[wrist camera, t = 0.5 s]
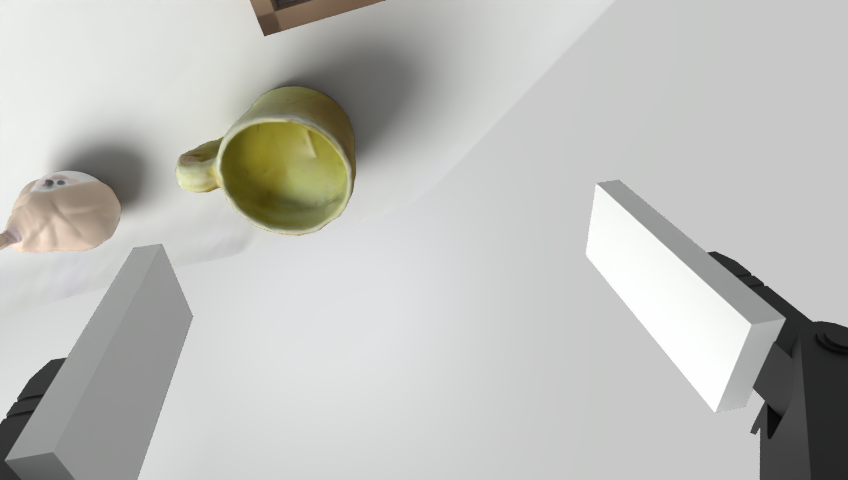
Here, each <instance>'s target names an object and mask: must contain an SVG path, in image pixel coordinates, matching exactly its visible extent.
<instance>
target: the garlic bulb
mask: <svg viewBox="0 0 848 480" xmlns="http://www.w3.org/2000/svg"><path fill="white" fill-rule="evenodd" d="M120 213H121V205H120V203H119V201H118V199H117V197H116V195H115V194H114V192H113V190H112V189H111V188H110V187H109V186H108V185H106V184H104V183H102V182H101V181H99V180H98V179H96V178H95V177H93V176H91V175H88V174H85V173H82V172H77V171H58V172H54V173H51V174H48V175H46V176H44V177H42V178H41V179H38V180H35V181H33V182H31V183H29V184H28V185H26V186H25V187H24V188H23V190H22V191H21V193H20V195H19V197H18V199H17V200H16V202H15V204H14V207H13V210H12V215H11V216H10V218H9V220H8V222H7V225H6V228H5V230H4V231H3V233H2V234H0V250H1V249H3V248H5V247H7V246H10V247H12V248H13V249H15V250H17V251H19V252H24V253H37V252H54V251H86V250H90V249H93V248H96V247H97V246H99V245H100V244H102V243H103V242H104V241H106V240H108V239H109V238H110V237H111V236H112V235H113V234H114V232H115V230H116V228H117V225H118V223H119V221H120Z"/></svg>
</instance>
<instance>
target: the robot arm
mask: <svg viewBox="0 0 848 480" xmlns="http://www.w3.org/2000/svg"><path fill="white" fill-rule="evenodd" d="M586 256H587V257H588V258H589V259H590V261H591V262H592V263H593V264H594V265H595V267H596V268H597V269H598V270H599V271H600V273H601V274H602V275H603V276H604V278H605V279H606V280H607V281H608V283H609V284H610V285H611V286H612V287H613V289H614V290H615V291H616V292H617V294H618V295H619V296H620V297H621V298H622V299H623V301H624V302H625V303H626V305H627V306H628V307H629V308H630V309H631V311H632V312H633V313H634V314H635V316H636V317H637V318H638V319H639V320H640V322H641V323H642V324H643V325H644V327H645V328H646V329H647V330H648V331H649V333H650V334H651V335H652V336H653V338H654V339H655V340H656V341H657V342H658V343H659V345H660V346H661V347H662V348H663V350H664V351H665V352H666V353H667V355H668V356H669V357H670V358H671V359H672V361H673V362H674V363H675V364H676V366H677V367H678V368H679V369H680V370H681V372H682V373H683V374H684V375H685V376H686V378H687V379H688V380H689V382H690V383H691V384H692V385H693V386H694V387H695V389H696V390H697V391H698V393H699V394H700V395H701V396H702V397H703V399H704V400H705V401H706V402H707V403H708V405H709V406H710V407H711V408H712V410H713V411H714V412H715V413H716V412H721V411H726V410H731V409H735V408H741V407H745V406H746V404H747V401H748V399H749V397H750V395H751V393H752V391H753V389H754V390H755V391H756V392H757V393H758V394H759V395H760V396H761V397H762V398H763V399H764V400H765V402H764V404H763V406H762V408H761V410H760V413H759V414H758V416H757V418H756V420H755V423H754V424H753V427H752V429H751V432H750V433H753V434H756V433H757V431H758V429H759V428H760V480H848V328H847V327H844V326H841V325H838V324H835V323H829V322H823V321H818V322H812V321H811V320H809V319H808V318H807V317H806V316H805V315H803V314H802V313H801V312H799V311H798V310H797V309H796V308H794V307H793V306H792V305H790V304H789V303H788V302H787V301H786V300H784V299H783V298H782V297H781V296H779V295H778V294H776V293H775V292H774V291H773V290H772V289H770V288H769V287H768V286H764V283H763V282H762V281H760V280H759V279H758V278H756V277H755V276H752V275H751V273H750V272H749V271H748V270H746V269H745V268H744V267H743V266H741V265H740V264H739V263H738V262H736V261H735V260H733V259H730V258H728V257H726V256H724V255H722V254H719V253H717V252H708V253H707V252H705V251H704V250H703V249H702V248H700V247H699V246H698V245H697V244H696V243H694V242H693V241H692V240H691V239H689V238H688V237H687V236H686V235H685V234H684V233H682V232H681V231H680V230H679V229H678V228H676V227H675V226H674V225H673V224H672V223H670V222H669V221H668V220H667V219H665V218H664V217H663V216H662V215H661V214H659V213H658V212H657V211H656V210H655V209H654V208H652V207H651V206H650V205H649V204H647V203H646V202H645V201H644V200H643V199H641V198H640V197H639V196H638V195H636V194H635V193H634V192H633V191H632V190H631V189H629V188H628V187H627V186H626V185H625V184H623V183H622V182H621V181H620V180H614V181H607V182H600V183H596V188H595V195H594V202H593V208H592V215H591V222H590V229H589V236H588V243H587V249H586ZM192 318H193V315H192V313H191V310H190V308H189V306H188V304H187V301H186V299H185V296H184V294H183V292H182V290H181V287H180V285H179V283H178V280H177V278H176V275H175V273H174V271H173V268H172V266H171V264H170V261H169V259H168V257H167V254H166V252H165V250H164V247H163V245H162V244H157V245H150V246H142V247H135V248H133V250H132V251H131V253H130V255H129V256H128V258H127V260H126V261H125V263H124V265H123V266H122V268H121V269H120V271H119V273H118V274H117V276H116V278H115V279H114V281H113V283H112V284H111V286H110V288H109V289H108V291H107V293H106V294H105V296H104V297H103V299H102V301H101V302H100V304H99V306H98V307H97V309H96V311H95V312H94V314H93V316H92V317H91V319H90V321H89V322H88V324H87V325H86V327H85V329H84V330H83V332H82V334H81V336H80V337H79V339H78V340H77V342H76V344H75V345H74V347H73V349H72V350H71V352H70V353H69V355H68V357H67V358H62V359H55V360H51V361H50V362H49V363H47V364H46V365H45V366H44V367H43V368H42V369H41V370H39V372H38V373H36V374H35V375H34V376H33V377H32V378H31V379H30V380H29V381H28V383H27V384H26V386H25V388H24V389H23V390H22V392H21V394H20V395H19V397H18V398H17V399H18V401H17V402H15V403H14V404H13V406H12V407H11V409H10V410H9V412H8V413H7V418H6V419H3V421H2V422H1V424H0V480H137V479H138V476H139V473H140V470H141V467H142V464H143V461H144V458H145V455H146V453H147V449H148V447H149V444H150V440H151V438H152V435H153V432H154V429H155V426H156V423H157V420H158V418H159V415H160V411H161V409H162V406H163V403H164V400H165V397H166V394H167V391H168V388H169V385H170V382H171V379H172V377H173V373H174V371H175V368H176V365H177V362H178V359H179V356H180V353H181V350H182V347H183V345H184V342H185V339H186V336H187V333H188V330H189V327H190V324H191V321H192Z"/></svg>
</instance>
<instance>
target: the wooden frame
mask: <svg viewBox="0 0 848 480" xmlns="http://www.w3.org/2000/svg"><path fill="white" fill-rule="evenodd" d="M381 1H385V0H297V1H294V2H290V3H287V4H284V5H280V6H279V5H278V2H277V0H250V2H251V4H252V7H253V9H254V12H255V14H256V17H257V19H258V22H259V24H260V27H261V29H262V31H263V34H264V36H267V35H270V34H274V33H277V32H280V31H284V30H287V29H290V28H294V27H297V26H301V25H304V24H307V23H311V22H314V21H317V20H321V19H324V18H328V17H331V16H334V15H338V14H341V13H344V12H348V11H351V10H355V9H358V8H361V7H365V6H368V5H371V4H375V3H378V2H381Z"/></svg>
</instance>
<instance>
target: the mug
mask: <svg viewBox="0 0 848 480" xmlns="http://www.w3.org/2000/svg"><path fill="white" fill-rule="evenodd" d="M354 148H355V139H354V133H353V129H352V126H351V123H350V121H349V118H348V116H347V115H346V113H345V112H344V111H343V109H342V108H341V107H340V106H339V105H338V104H337V103H336V102H335V101H334V100H333V99H331V98H330V97H328V96H326V95H325V94H323V93H321V92H319V91H316V90H313V89H310V88H305V87H298V86H288V87H281V88H277V89H274V90H271V91H268V92H267V93H265V94H263V95H262V96H261V97H260V98H259V99H257V101H256V102H255V103H254V104H253V106H252V107H251V109H250V110H249V111H248V112H247V113H245V114H244V115H243V116H242V117H241V118H240V119H239V120H237V121H236V122H235V123H234V124H233V126H232V127H231V128H230V129H229V131H228V132H227V133H226V135H225V136H224V137H222V138H220V139H218V140H215V141H210V142H207V143H205V144H202V145H200V146H199V147H197V148H195V149H194V150H191V151H188V152H187V153H185V154H182V155H181V156H180V158H179V160H178V162H177V165H176V169H175V172H176V177H177V182H178V185H179V187H180V188H182V189H184V190H188V191H192V192H210V191H212V190H215V189H217V188H222V190H223V192H224V194H225V196H226V198H227V200H228V202H229V204H230V205H231V206H232V207H233V208H234V209H235V210H236V211H237V212H238V213H239V214H240V215H241V216H242V217H243V218H244V219H246V220H247V221H248V222H250V223H251V224H253V225H255V226H257V227H259V228H261V229H264V230H267V231H270V232H275V233H279V234H285V235H304V234H308V233H312V232H316V231H318V230H320V229H322V228H323V227H324V226H325V225H327V224H328V223H329V222H331V221H332V220H334V219H335V218H337V217H339V216H340V214H341V213H342V212H343V211H344V209H345V208H346V206H347V204H348V201H349V199H350V197H351V195H352V192H353V187H354V180H355V176H356V162H355V157H354Z"/></svg>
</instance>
